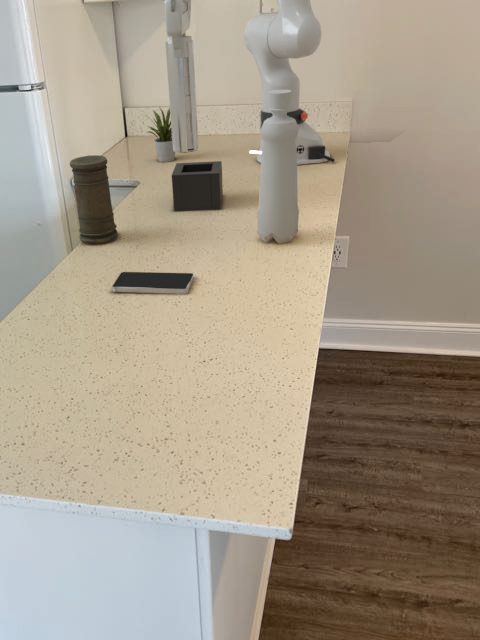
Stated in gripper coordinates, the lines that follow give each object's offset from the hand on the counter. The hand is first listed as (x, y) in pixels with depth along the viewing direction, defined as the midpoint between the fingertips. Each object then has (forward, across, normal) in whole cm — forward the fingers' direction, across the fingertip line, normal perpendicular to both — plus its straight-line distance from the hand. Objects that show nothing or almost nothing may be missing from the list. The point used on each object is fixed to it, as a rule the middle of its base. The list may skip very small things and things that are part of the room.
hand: (180, 55), depth 158 cm
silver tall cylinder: (+21, 0, 0) cm, 21 cm away
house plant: (+35, +49, +10) cm, 61 cm away
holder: (+35, 0, -3) cm, 35 cm away
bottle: (+35, -29, -23) cm, 51 cm away
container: (+35, -25, +19) cm, 47 cm away
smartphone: (+35, -54, +2) cm, 65 cm away
